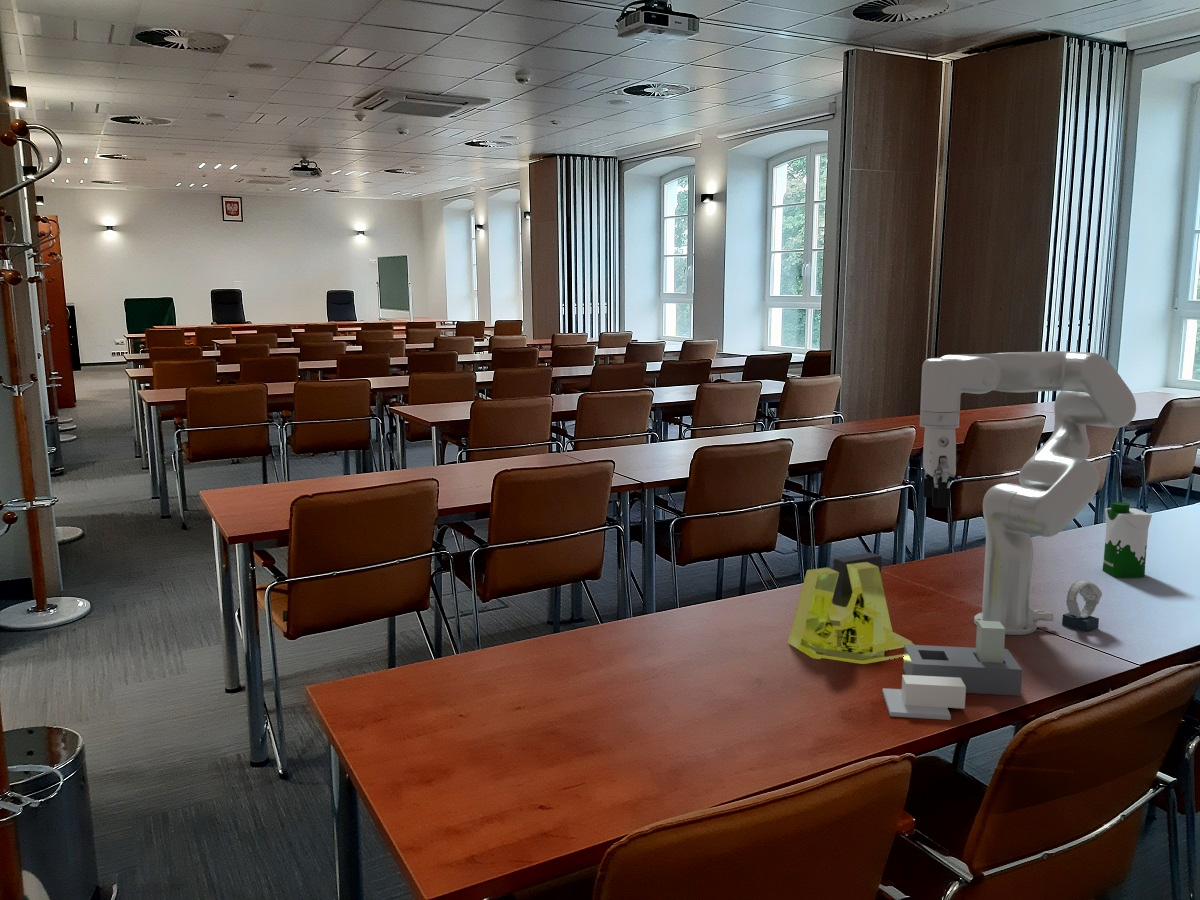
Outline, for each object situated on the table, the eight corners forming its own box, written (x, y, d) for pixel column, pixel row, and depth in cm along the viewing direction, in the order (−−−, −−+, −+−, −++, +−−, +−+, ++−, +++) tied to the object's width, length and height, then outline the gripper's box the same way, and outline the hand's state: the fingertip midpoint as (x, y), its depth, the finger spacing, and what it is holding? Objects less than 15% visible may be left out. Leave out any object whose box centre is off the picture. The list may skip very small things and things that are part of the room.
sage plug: (996, 672, 173) (999, 621, 171) (1002, 680, 169) (1005, 628, 168) (974, 670, 174) (977, 620, 172) (979, 679, 170) (982, 627, 168)
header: (1006, 674, 176) (1007, 649, 175) (1020, 695, 166) (1022, 669, 165) (903, 668, 179) (904, 644, 178) (911, 689, 169) (912, 664, 168)
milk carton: (1096, 574, 239) (1102, 499, 236) (1131, 574, 239) (1137, 499, 236) (1114, 584, 230) (1120, 507, 227) (1150, 584, 230) (1157, 506, 227)
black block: (866, 614, 211) (868, 551, 208) (879, 619, 207) (882, 555, 204) (829, 622, 206) (830, 557, 203) (842, 627, 202) (844, 562, 200)
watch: (1103, 630, 198) (1107, 581, 197) (1080, 637, 194) (1084, 587, 193) (1079, 623, 203) (1082, 575, 201) (1056, 629, 199) (1059, 580, 198)
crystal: (782, 639, 196) (783, 569, 193) (879, 624, 204) (881, 556, 202) (833, 671, 178) (835, 594, 176) (936, 653, 187) (940, 579, 185)
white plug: (901, 695, 165) (959, 698, 163) (905, 705, 161) (964, 708, 159) (902, 674, 164) (960, 677, 162) (906, 683, 160) (965, 686, 159)
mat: (939, 695, 166) (939, 691, 166) (950, 719, 157) (950, 715, 157) (882, 692, 168) (882, 688, 168) (890, 716, 158) (890, 711, 158)
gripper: (968, 425, 176) (964, 512, 178) (950, 414, 193) (946, 494, 195) (927, 424, 177) (924, 511, 180) (913, 414, 194) (909, 493, 197)
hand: (935, 502), depth 188 cm, fingers open, 9 cm apart
